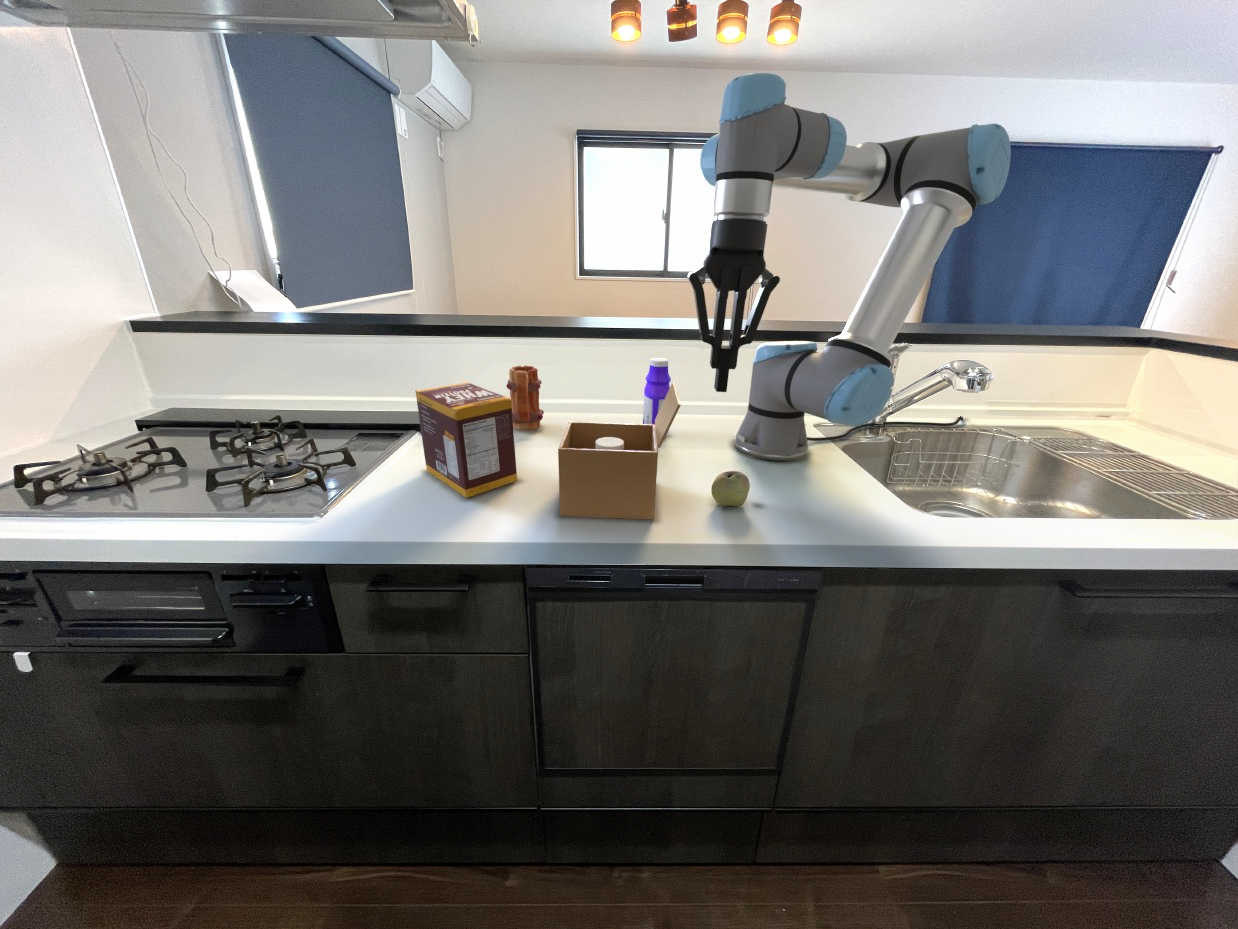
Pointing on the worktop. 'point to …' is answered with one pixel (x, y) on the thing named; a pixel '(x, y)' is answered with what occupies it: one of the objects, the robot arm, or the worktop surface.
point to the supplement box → (467, 437)
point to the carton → (608, 471)
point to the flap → (666, 414)
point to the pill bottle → (609, 443)
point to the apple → (730, 488)
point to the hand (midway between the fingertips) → (720, 389)
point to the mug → (525, 397)
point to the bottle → (655, 389)
